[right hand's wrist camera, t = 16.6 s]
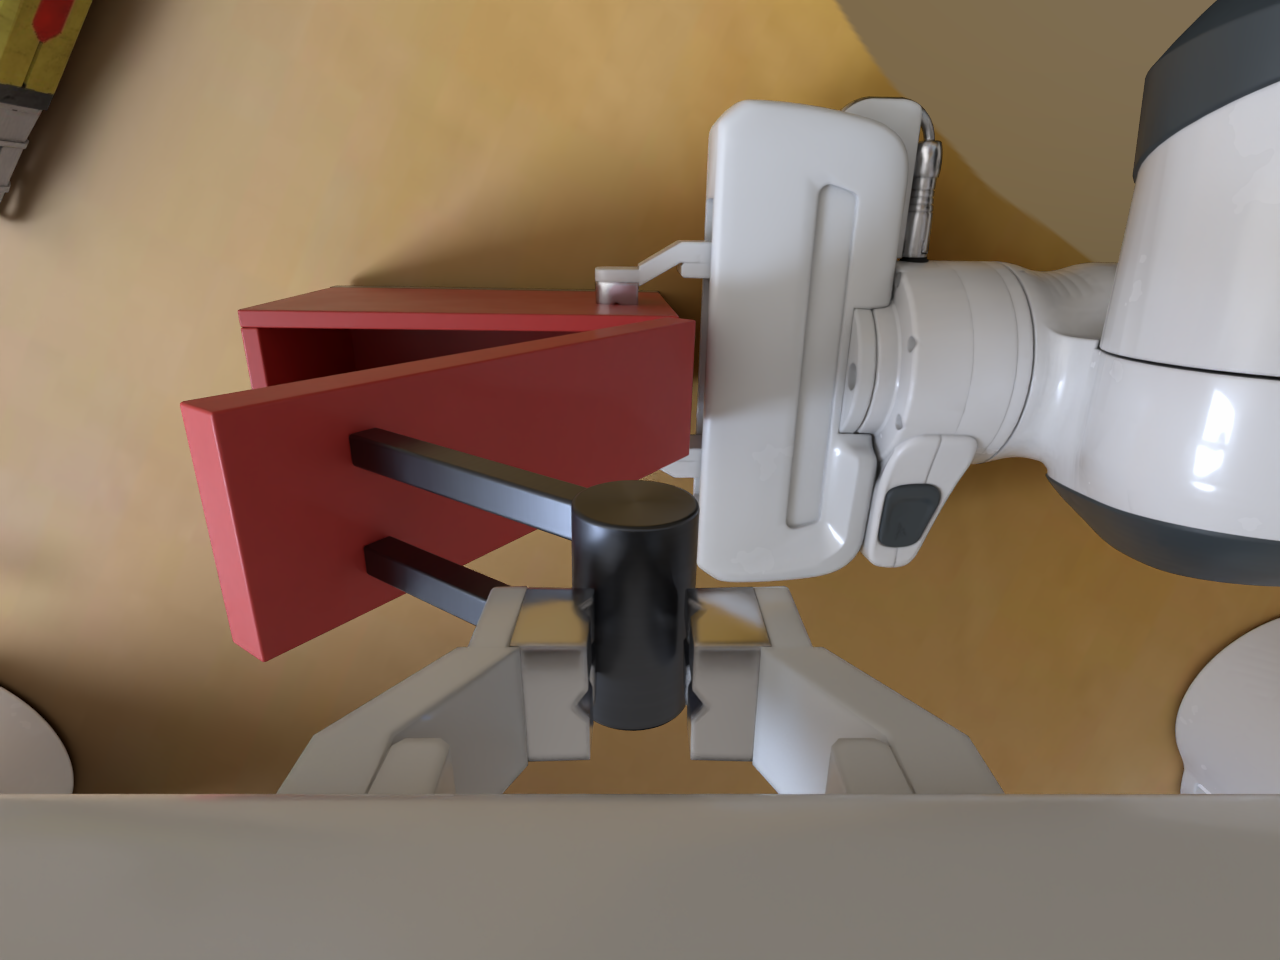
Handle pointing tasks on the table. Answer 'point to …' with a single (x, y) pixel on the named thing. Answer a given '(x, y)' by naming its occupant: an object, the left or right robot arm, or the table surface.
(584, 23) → the table surface
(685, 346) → the lid
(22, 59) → the toy gun
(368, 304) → the chest
